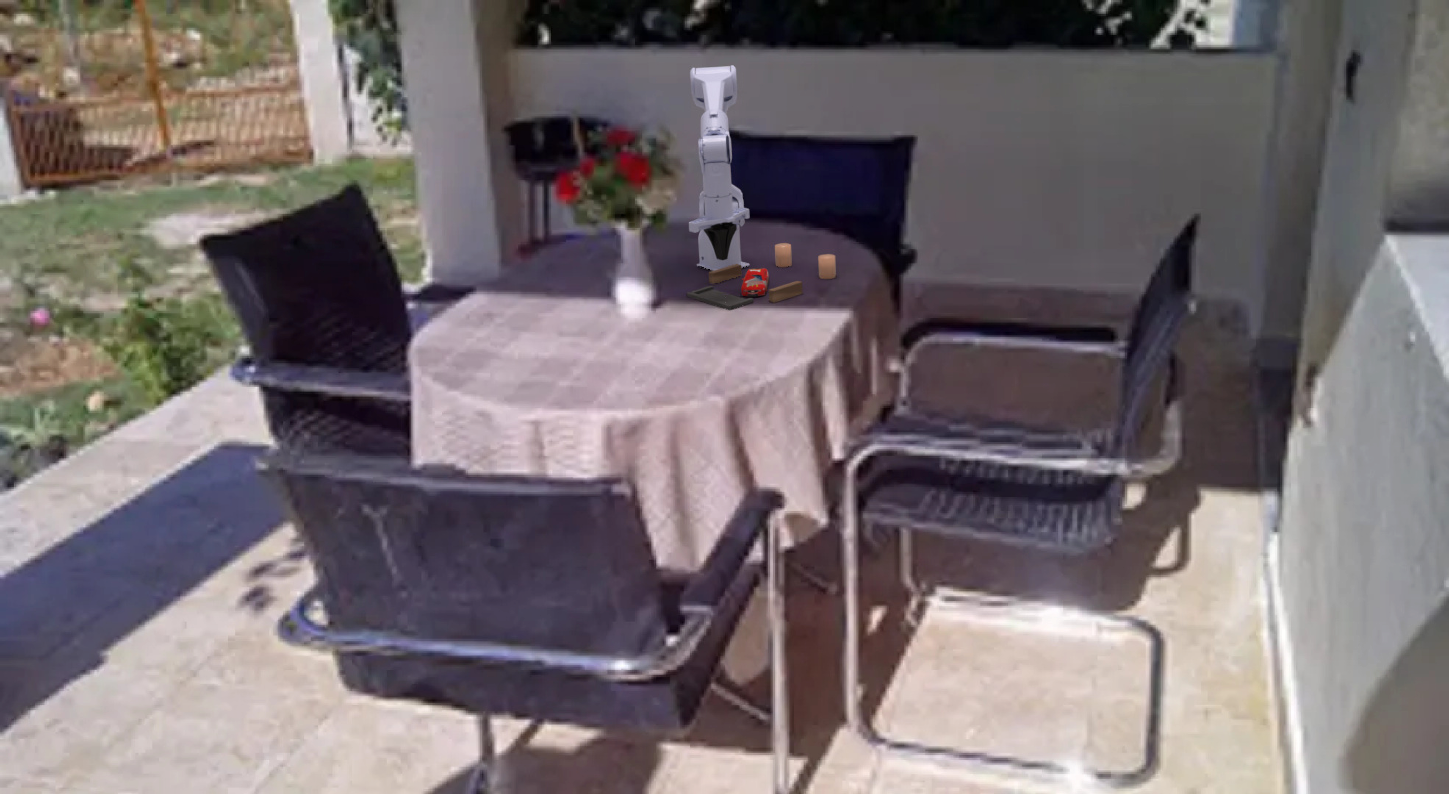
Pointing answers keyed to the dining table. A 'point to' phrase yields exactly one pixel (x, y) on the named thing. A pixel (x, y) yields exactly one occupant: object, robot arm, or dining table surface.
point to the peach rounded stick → (783, 255)
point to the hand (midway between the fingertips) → (722, 258)
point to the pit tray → (718, 298)
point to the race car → (755, 282)
